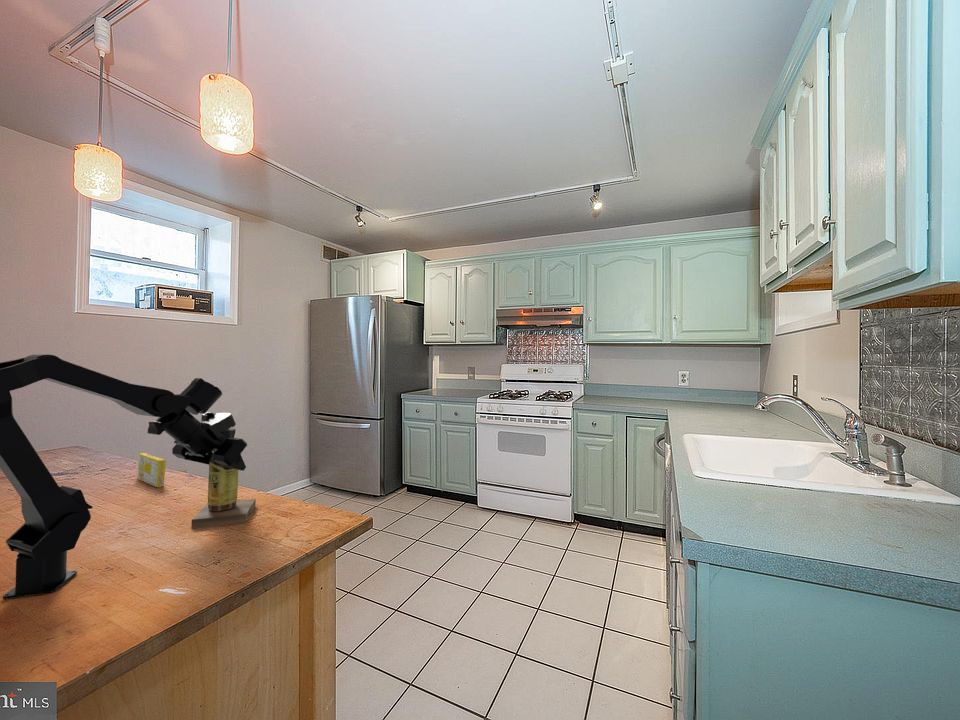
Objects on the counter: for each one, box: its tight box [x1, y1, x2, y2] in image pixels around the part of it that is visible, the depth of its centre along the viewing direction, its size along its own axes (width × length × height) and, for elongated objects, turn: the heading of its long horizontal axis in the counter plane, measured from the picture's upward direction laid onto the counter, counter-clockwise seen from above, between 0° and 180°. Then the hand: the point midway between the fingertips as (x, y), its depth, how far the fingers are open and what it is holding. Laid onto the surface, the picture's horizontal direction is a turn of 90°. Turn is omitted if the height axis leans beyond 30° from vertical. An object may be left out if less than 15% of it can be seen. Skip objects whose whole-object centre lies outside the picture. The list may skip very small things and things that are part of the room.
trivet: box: [191, 498, 257, 529], centre depth 97 cm, size 11×11×2 cm
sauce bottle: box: [207, 427, 240, 512], centre depth 97 cm, size 7×6×20 cm
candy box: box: [136, 452, 166, 488], centre depth 122 cm, size 16×2×8 cm, turn 58°
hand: (232, 466), depth 99 cm, fingers open, 8 cm apart
